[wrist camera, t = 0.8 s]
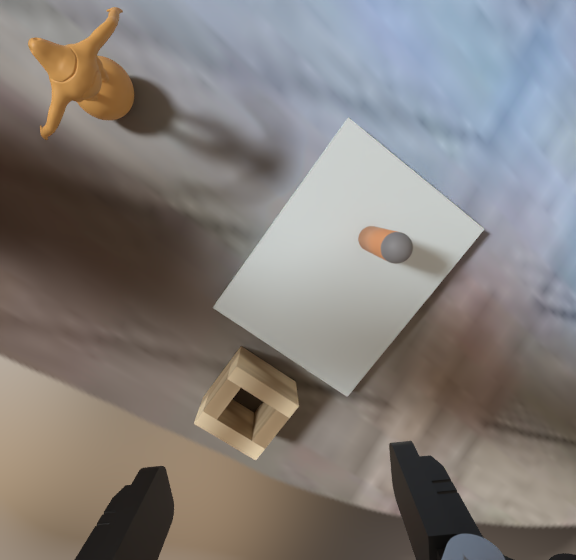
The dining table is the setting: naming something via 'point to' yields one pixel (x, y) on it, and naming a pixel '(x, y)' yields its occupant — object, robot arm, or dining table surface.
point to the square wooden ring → (238, 419)
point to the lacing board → (348, 260)
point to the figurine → (84, 76)
